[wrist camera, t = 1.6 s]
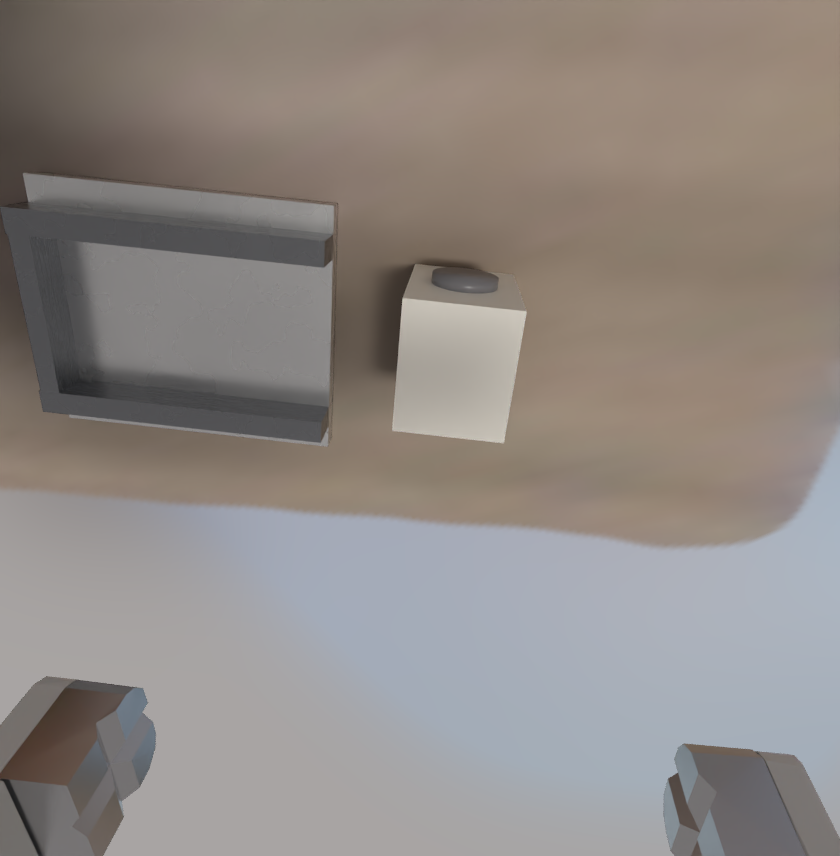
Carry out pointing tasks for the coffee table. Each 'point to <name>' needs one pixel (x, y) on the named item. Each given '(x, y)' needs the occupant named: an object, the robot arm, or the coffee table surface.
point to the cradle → (179, 305)
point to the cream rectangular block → (458, 353)
